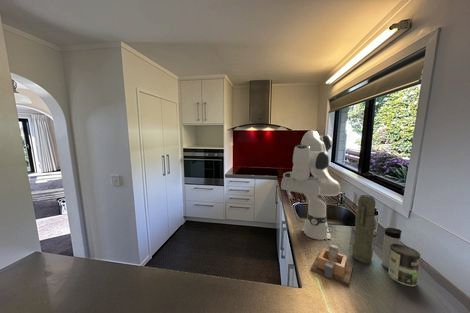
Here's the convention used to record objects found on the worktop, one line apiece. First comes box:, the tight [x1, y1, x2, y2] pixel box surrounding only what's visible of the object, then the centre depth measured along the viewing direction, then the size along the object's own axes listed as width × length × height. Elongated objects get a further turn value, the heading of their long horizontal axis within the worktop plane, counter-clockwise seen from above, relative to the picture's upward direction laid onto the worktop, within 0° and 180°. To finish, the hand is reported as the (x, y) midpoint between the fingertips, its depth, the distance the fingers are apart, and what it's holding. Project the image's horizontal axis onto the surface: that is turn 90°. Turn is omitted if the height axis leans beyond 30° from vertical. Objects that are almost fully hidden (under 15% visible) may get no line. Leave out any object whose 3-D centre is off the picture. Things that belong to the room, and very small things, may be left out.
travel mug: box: [381, 227, 402, 270], centre depth 95 cm, size 6×7×20 cm
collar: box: [318, 247, 348, 279], centre depth 90 cm, size 15×11×5 cm
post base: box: [310, 244, 354, 287], centre depth 92 cm, size 16×16×12 cm
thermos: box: [352, 194, 376, 264], centre depth 101 cm, size 9×12×35 cm
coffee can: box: [387, 243, 421, 287], centre depth 87 cm, size 10×10×14 cm
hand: (299, 200), depth 100 cm, fingers open, 8 cm apart
